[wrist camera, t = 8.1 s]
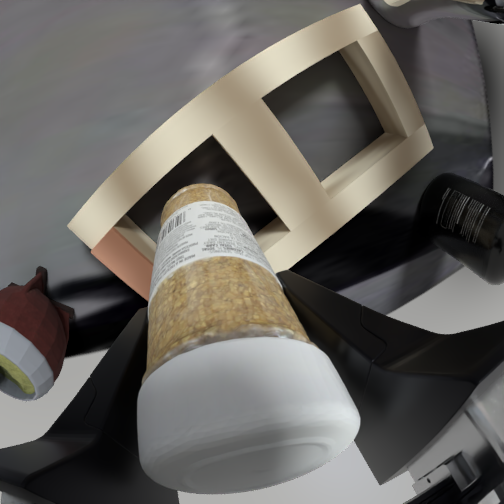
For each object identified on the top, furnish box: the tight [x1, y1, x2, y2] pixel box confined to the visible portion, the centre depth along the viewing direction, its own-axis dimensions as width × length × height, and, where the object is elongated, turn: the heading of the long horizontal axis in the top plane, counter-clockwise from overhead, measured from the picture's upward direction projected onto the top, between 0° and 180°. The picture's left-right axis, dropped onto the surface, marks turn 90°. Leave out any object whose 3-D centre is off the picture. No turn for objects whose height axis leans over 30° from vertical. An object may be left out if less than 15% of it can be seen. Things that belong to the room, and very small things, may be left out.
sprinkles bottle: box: [137, 183, 360, 494], centre depth 10 cm, size 5×5×13 cm
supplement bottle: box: [419, 173, 504, 285], centre depth 16 cm, size 7×7×12 cm
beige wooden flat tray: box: [68, 4, 433, 302], centre depth 15 cm, size 21×11×3 cm, turn 127°
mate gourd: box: [0, 266, 74, 401], centre depth 10 cm, size 8×8×15 cm
